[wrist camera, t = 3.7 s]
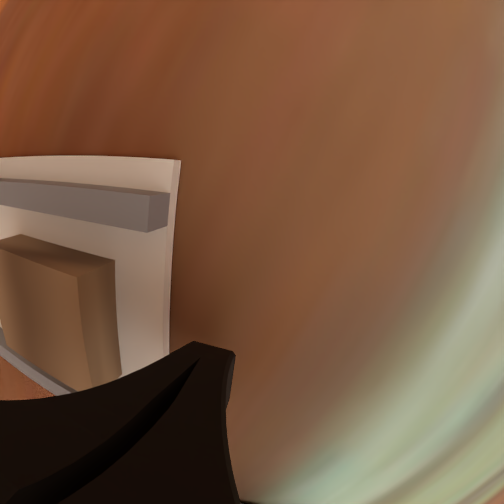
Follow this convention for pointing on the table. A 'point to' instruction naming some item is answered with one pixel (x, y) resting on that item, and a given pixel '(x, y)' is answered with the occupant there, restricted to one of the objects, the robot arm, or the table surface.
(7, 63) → the table surface
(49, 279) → the block
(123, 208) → the track
